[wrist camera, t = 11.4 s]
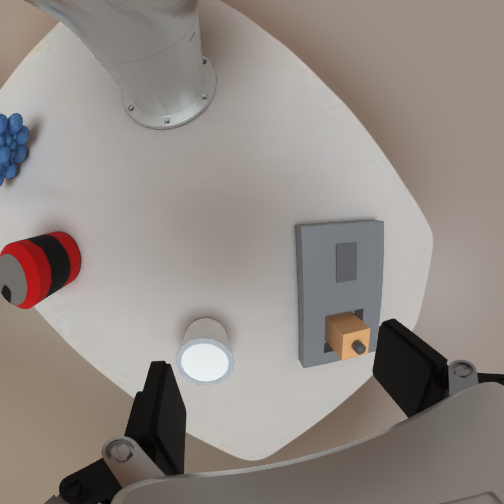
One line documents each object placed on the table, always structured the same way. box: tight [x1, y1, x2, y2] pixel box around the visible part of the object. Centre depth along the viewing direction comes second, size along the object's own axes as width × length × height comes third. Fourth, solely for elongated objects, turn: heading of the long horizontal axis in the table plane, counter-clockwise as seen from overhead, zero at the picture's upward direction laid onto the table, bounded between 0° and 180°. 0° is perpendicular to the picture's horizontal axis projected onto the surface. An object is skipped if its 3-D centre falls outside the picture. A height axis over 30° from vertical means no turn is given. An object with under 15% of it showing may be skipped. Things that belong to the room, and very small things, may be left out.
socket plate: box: [295, 220, 384, 368], centre depth 36 cm, size 20×12×3 cm, turn 4°
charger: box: [325, 311, 370, 361], centre depth 34 cm, size 4×4×8 cm
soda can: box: [0, 232, 80, 309], centre depth 25 cm, size 8×8×12 cm
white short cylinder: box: [176, 318, 234, 386], centre depth 32 cm, size 7×7×7 cm
